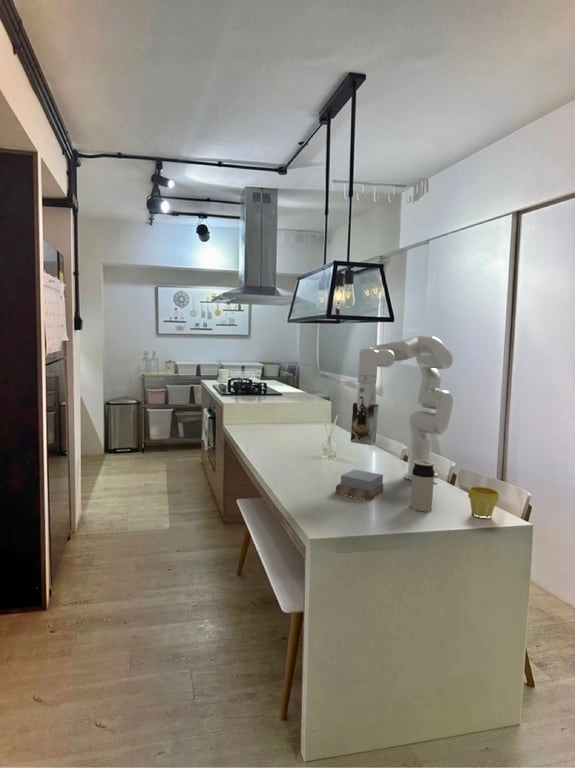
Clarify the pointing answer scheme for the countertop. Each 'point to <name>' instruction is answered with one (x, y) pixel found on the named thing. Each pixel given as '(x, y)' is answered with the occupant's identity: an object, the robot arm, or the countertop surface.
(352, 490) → the tower base walnut
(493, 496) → the plant pot
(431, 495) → the travel mug
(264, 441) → the countertop surface
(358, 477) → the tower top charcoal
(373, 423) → the coffee box
